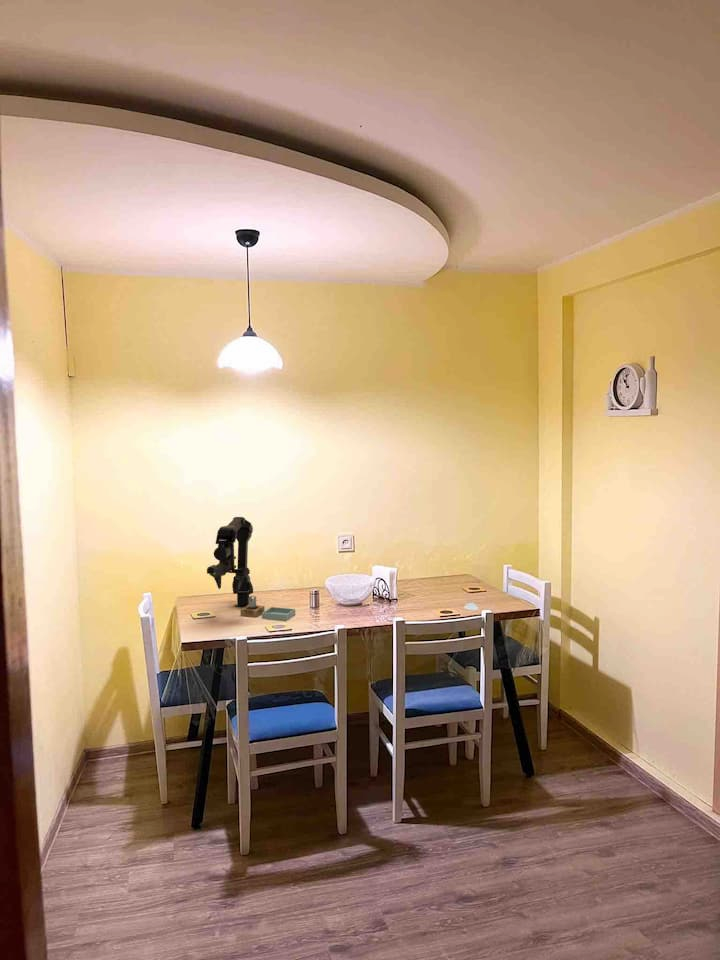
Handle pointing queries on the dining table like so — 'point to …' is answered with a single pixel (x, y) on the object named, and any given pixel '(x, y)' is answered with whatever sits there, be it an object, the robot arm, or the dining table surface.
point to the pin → (252, 602)
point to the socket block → (252, 611)
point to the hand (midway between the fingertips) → (228, 589)
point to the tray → (278, 613)
